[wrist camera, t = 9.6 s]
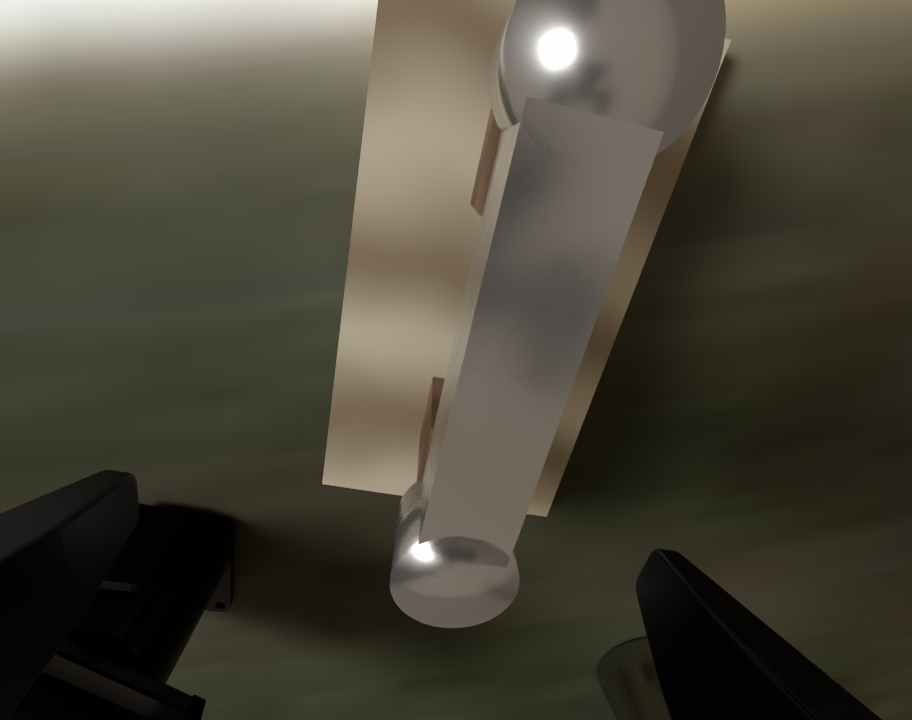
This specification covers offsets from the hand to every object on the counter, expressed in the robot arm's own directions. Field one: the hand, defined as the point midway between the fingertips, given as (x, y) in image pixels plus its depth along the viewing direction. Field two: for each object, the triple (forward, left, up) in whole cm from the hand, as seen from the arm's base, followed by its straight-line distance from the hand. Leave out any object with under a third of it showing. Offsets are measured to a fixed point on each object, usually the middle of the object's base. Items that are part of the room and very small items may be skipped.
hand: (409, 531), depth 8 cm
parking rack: (+1, -2, -12) cm, 12 cm away
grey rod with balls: (+1, -2, -7) cm, 7 cm away
